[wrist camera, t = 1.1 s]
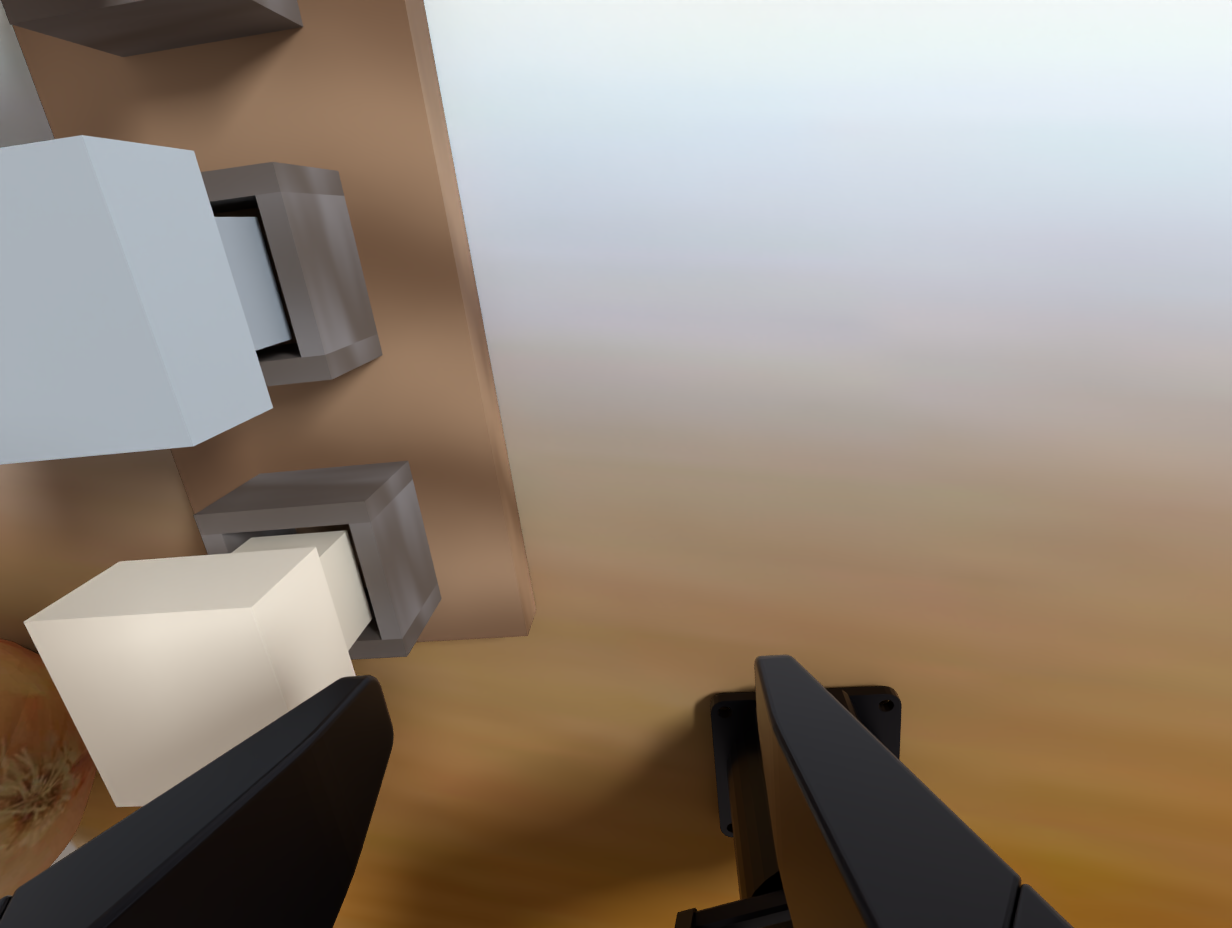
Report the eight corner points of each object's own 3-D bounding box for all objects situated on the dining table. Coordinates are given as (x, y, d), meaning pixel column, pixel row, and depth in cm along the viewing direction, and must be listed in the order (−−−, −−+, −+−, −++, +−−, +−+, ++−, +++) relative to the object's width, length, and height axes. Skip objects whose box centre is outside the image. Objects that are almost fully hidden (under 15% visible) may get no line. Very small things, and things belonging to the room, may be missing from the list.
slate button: (341, 375, 16) (193, 446, 11) (164, 393, 17) (-53, 469, 12) (285, 163, 15) (81, 134, 10) (90, 191, 15) (-201, 178, 10)
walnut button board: (536, 610, 23) (506, 698, 19) (270, 626, 24) (186, 712, 20) (366, -305, 15) (246, -513, 10) (-26, -216, 16) (-277, -373, 12)
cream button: (413, 645, 19) (321, 800, 14) (259, 654, 19) (116, 807, 14) (373, 493, 17) (251, 607, 12) (206, 507, 18) (23, 622, 13)
